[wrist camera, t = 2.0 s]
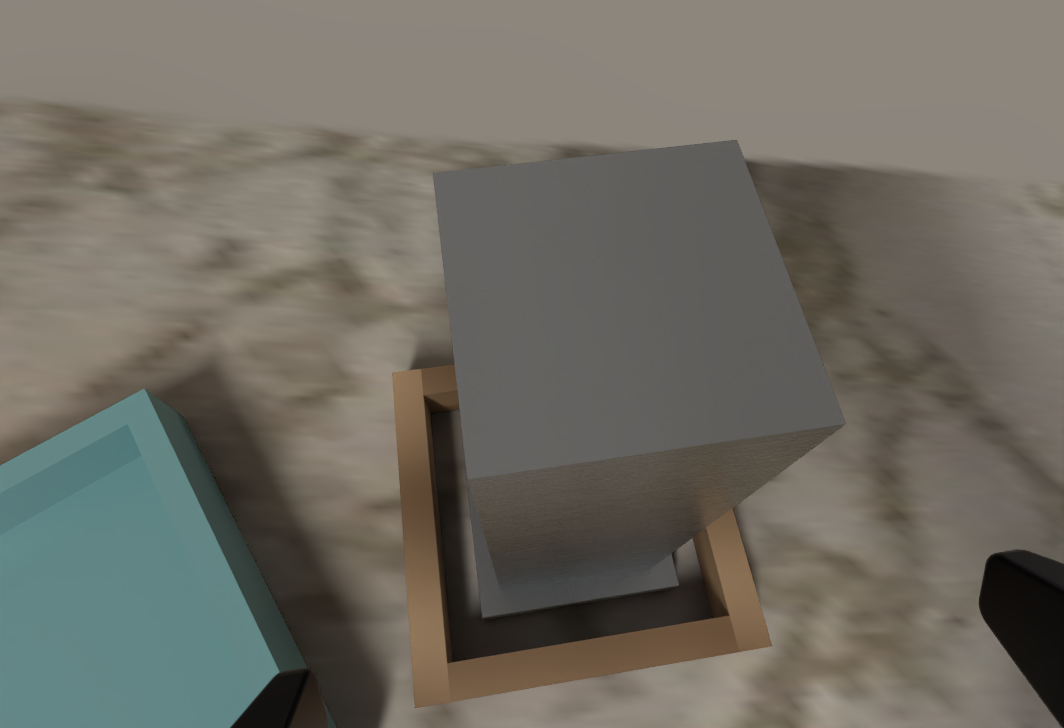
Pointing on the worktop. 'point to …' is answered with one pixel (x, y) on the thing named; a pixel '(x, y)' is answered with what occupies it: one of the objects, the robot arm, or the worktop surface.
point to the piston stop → (618, 364)
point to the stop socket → (452, 681)
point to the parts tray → (129, 583)
